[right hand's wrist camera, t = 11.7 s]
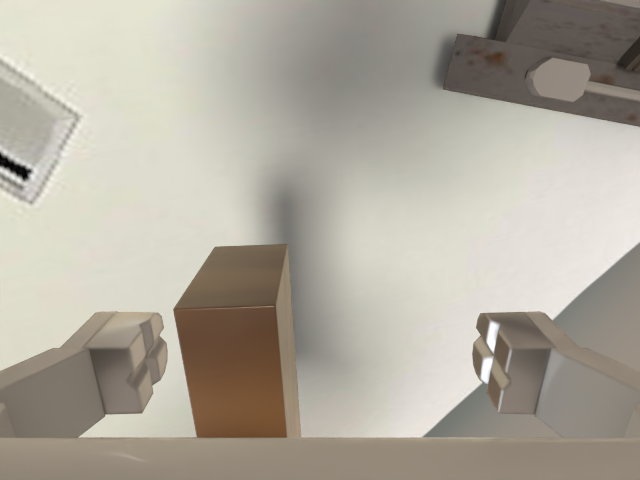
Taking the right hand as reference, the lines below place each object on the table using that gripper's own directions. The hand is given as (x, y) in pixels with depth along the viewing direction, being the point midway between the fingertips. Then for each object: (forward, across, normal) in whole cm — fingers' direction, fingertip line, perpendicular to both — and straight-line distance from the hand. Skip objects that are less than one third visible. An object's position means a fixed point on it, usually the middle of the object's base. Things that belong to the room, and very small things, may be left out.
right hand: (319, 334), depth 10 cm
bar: (+18, +4, +16) cm, 24 cm away
